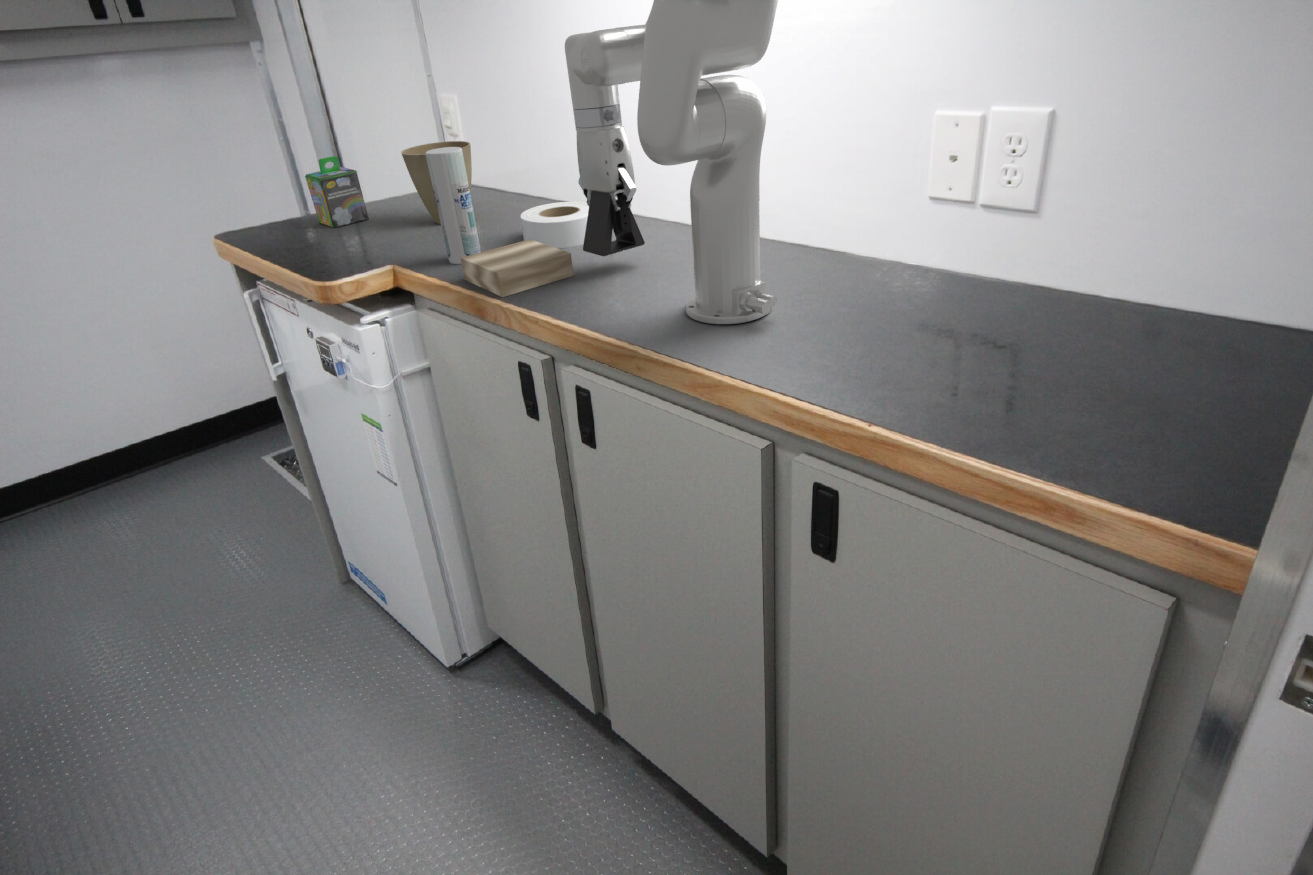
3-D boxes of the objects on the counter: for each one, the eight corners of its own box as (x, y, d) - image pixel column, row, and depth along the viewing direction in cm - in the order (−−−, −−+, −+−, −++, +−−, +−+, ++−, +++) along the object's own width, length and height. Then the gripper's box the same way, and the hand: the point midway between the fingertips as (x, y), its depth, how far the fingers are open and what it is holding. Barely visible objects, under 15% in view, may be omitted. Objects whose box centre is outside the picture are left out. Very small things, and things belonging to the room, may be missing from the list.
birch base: (573, 275, 137) (570, 253, 135) (502, 297, 130) (498, 273, 128) (533, 260, 147) (529, 239, 145) (464, 279, 140) (460, 257, 138)
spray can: (456, 254, 155) (434, 147, 145) (487, 253, 154) (467, 146, 144) (442, 264, 149) (418, 154, 140) (474, 264, 148) (452, 152, 138)
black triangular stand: (602, 256, 132) (592, 183, 127) (583, 251, 137) (572, 180, 131) (645, 244, 137) (637, 172, 131) (625, 239, 141) (617, 170, 136)
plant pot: (416, 218, 185) (400, 147, 177) (479, 209, 188) (466, 138, 180) (419, 233, 172) (402, 157, 165) (487, 222, 176) (473, 147, 168)
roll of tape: (616, 237, 158) (613, 208, 155) (546, 255, 150) (542, 225, 148) (578, 223, 169) (575, 197, 167) (511, 240, 162) (506, 212, 159)
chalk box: (354, 215, 194) (337, 151, 186) (370, 219, 188) (353, 154, 180) (317, 223, 188) (298, 159, 181) (333, 229, 182) (314, 162, 175)
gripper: (648, 116, 123) (660, 232, 131) (587, 114, 135) (601, 220, 144) (609, 123, 119) (623, 242, 127) (550, 120, 131) (566, 229, 140)
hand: (611, 229), depth 135 cm, fingers closed on black triangular stand, 6 cm apart
